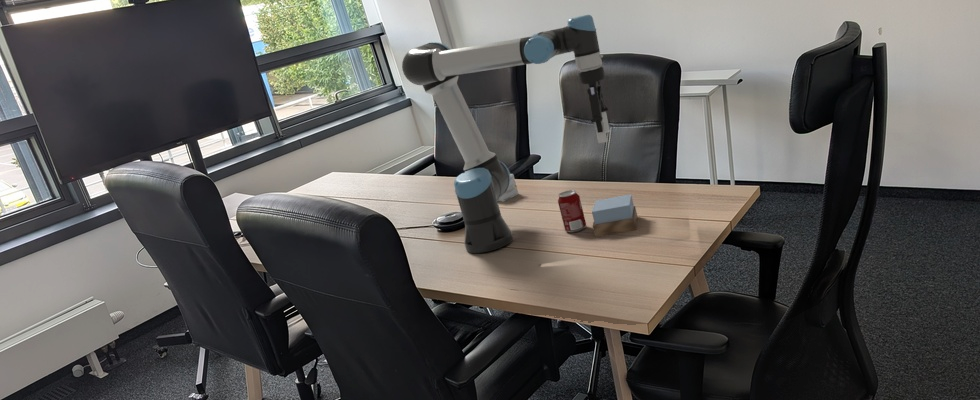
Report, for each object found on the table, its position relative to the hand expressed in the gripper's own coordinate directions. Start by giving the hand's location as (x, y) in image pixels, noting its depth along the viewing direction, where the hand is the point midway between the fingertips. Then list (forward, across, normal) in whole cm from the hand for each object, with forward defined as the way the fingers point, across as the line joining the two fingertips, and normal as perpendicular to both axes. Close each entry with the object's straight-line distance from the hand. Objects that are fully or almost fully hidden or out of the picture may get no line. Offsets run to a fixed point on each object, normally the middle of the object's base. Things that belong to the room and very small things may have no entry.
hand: (604, 137), depth 226 cm
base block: (+26, -10, +1) cm, 28 cm away
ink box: (+26, +38, +45) cm, 64 cm away
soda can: (+26, -6, +14) cm, 30 cm away
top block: (+22, -10, +1) cm, 24 cm away
